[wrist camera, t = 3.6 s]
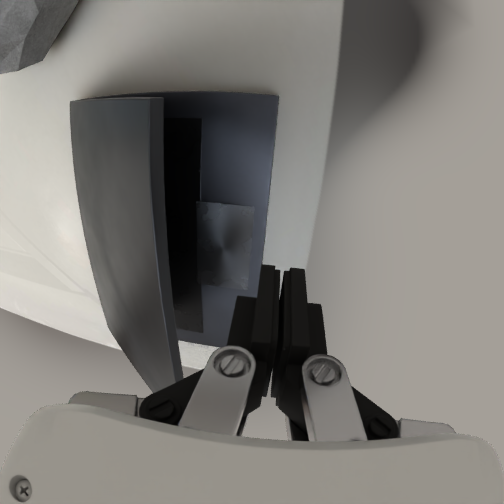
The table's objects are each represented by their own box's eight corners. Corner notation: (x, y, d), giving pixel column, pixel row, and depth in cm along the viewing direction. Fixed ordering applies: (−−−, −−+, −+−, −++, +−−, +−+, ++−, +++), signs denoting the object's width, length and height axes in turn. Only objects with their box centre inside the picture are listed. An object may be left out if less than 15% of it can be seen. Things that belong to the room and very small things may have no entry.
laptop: (279, 95, 21) (278, 95, 19) (253, 341, 34) (251, 352, 33) (88, 98, 22) (77, 100, 20) (119, 318, 35) (113, 327, 34)
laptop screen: (167, 97, 10) (148, 98, 10) (194, 431, 24) (187, 435, 23) (77, 100, 20) (69, 101, 20) (114, 326, 34) (108, 328, 33)
